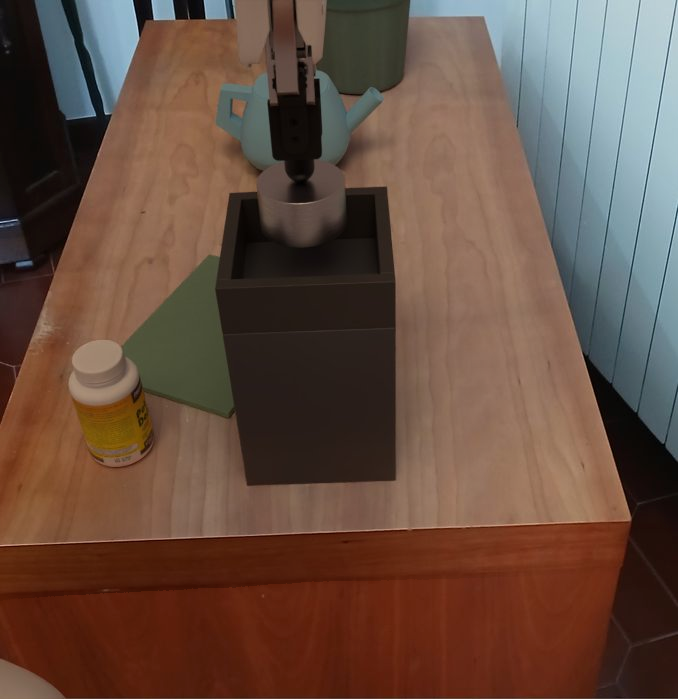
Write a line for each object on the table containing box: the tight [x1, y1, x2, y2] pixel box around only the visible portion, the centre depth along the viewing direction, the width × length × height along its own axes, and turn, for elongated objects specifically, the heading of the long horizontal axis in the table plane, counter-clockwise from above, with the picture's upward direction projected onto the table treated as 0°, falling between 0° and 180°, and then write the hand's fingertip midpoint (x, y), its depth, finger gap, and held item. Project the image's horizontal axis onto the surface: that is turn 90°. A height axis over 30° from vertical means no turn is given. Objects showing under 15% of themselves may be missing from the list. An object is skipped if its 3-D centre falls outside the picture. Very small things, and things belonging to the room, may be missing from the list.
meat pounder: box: [255, 67, 347, 248], centre depth 61 cm, size 6×6×12 cm
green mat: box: [120, 254, 235, 419], centre depth 89 cm, size 20×14×1 cm
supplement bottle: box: [67, 339, 155, 468], centre depth 75 cm, size 6×6×10 cm
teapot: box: [214, 69, 385, 172], centre depth 109 cm, size 20×17×12 cm
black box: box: [215, 186, 397, 486], centre depth 72 cm, size 12×12×20 cm
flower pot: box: [315, 0, 411, 95], centre depth 125 cm, size 16×16×16 cm
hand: (298, 145), depth 61 cm, fingers closed on meat pounder
